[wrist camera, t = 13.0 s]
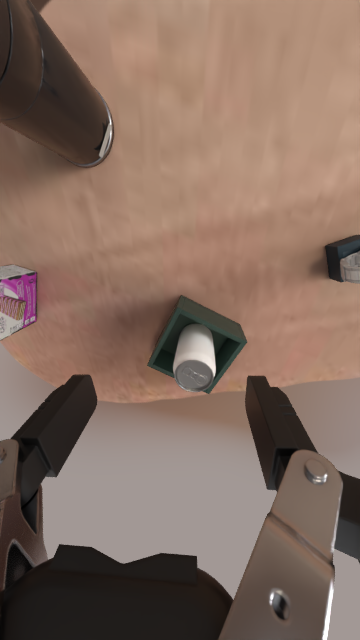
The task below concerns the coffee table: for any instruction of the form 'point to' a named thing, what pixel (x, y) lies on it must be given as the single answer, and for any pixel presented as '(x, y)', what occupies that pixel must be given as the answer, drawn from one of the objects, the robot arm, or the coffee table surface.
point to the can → (194, 358)
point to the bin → (223, 329)
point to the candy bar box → (16, 299)
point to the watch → (344, 259)
